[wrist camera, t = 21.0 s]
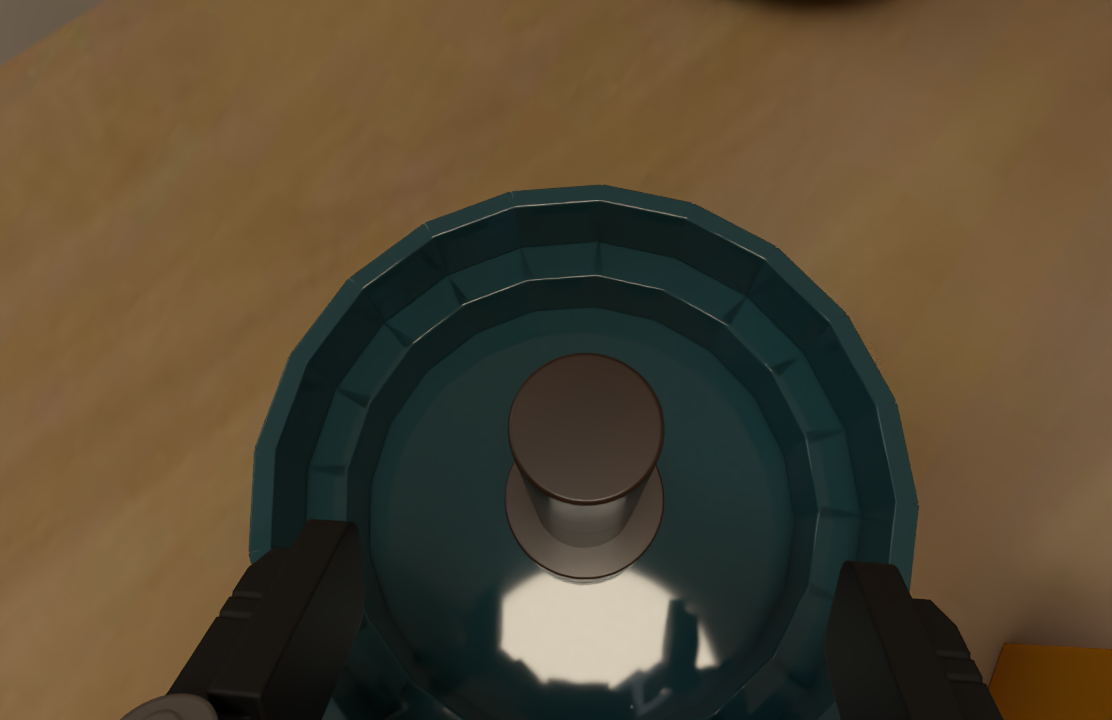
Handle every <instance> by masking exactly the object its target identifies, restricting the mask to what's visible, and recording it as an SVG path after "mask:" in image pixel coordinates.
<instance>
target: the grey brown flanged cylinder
mask: <svg viewBox="0 0 1112 720" xmlns="http://www.w3.org/2000/svg"><path fill="white" fill-rule="evenodd" d="M664 433H665V426H664V417H663V412H662V408H661V405H660V403H659V400H658V398H657V396H656V394H655V392H654V390H653V389H652V387H651V386H650V384H649V383H648V382H647V381H646V380H645V379H644V377H643V376H642V375H641V374H639V373H638V372H637V371H636V370H635V369H634V368H632V367H631V366H629V365H628V364H626V363H624V362H622V361H620V360H618V359H616V358H613V357H610V356H607V355H602V354H596V353H575V354H569V355H565V356H562V357H558V358H556V359H554V360H552V361H549V362H548V363H546V364H544V365H543V366H541V367H540V368H538V369H537V370H536V371H534V372H533V373H532V374H531V375H530V376H529V377H528V378H527V379H526V380H525V382H524V383H523V384H522V386H521V387H520V389H519V390H518V392H517V394H516V395H515V398H514V400H513V403H512V405H511V409H510V413H509V418H508V440H509V446H510V449H511V453H512V456H513V458H514V462H513V464H512V466H511V469H510V471H509V474H508V477H507V481H506V487H505V511H506V516H507V520H508V524H509V527H510V529H511V531H512V534H513V536H514V537H515V539H516V541H517V543H518V544H519V546H520V547H521V548H522V549H523V551H524V552H525V553H526V554H527V556H528V557H529V558H530V559H531V560H532V561H533V562H534V563H535V564H536V565H538V566H539V567H540V568H542V569H543V570H544V571H546V572H548V573H550V574H552V575H554V576H556V577H559V578H561V579H565V580H569V581H574V582H596V581H602V580H605V579H608V578H611V577H613V576H616V575H618V574H620V573H622V572H623V571H625V570H626V569H628V568H629V567H630V566H632V565H633V564H634V563H635V562H636V561H637V560H638V559H639V558H640V557H641V556H642V555H643V554H644V553H645V551H646V550H647V549H648V548H649V546H650V545H651V543H652V542H653V540H654V538H655V536H656V534H657V532H658V530H659V527H660V524H661V521H662V517H663V512H664V488H663V483H662V478H661V475H660V472H659V469H658V467H657V465H656V464H657V462H658V460H659V457H660V454H661V451H662V447H663V442H664Z"/></svg>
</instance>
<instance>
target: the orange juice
mask: <svg viewBox="0 0 1112 720" xmlns="http://www.w3.org/2000/svg"><path fill="white" fill-rule="evenodd" d="M988 690H989V692H990V693H991V695H992V697H993V699H994V701H995V703H996V705H997V707H998V709H999V711H1000V713H1001V715H1002V717H1003V719H1004V720H1112V649H1098V648H1080V647H1062V646H1044V645H1026V644H1008V643H1004V646H1003V649H1002V652H1001V655H1000V657H999V660H998V663H997V666H996V669H995V672H994V675H993V677H992V680H991V683H990V686H989V689H988Z"/></svg>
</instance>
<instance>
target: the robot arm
mask: <svg viewBox="0 0 1112 720" xmlns="http://www.w3.org/2000/svg"><path fill="white" fill-rule="evenodd" d="M364 603H365V589H364V579H363V570H362V561H361V552H360V543H359V533H358V528H357V525H356V524H355V523H354V522H348V521H334V520H321V519H309V520H308V521H307V522H306V523H305V525H304V526H303V528H302V530H301V531H300V533H299V535H298V536H297V538H296V540H295V541H294V543H293V545H292V547H291V548H278V547H274V548H272V549H271V550H270V551H269V552H267V553H266V554H265V555H263V556H262V557H261V558H260V559H258V560H257V561H256V562H255V563H253V564H252V565H251V566H249V567H248V569H247V570H246V572H245V573H244V575H243V576H242V578H241V579H240V581H239V583H238V584H237V586H236V587H235V589H234V590H233V594H232V597H229V598H228V600H227V601H226V603H225V604H224V606H223V607H222V609H221V611H220V615H219V617H216V618H215V620H214V621H213V623H212V625H211V626H210V628H209V629H208V631H207V632H206V634H205V635H204V637H203V639H202V640H201V642H200V643H199V645H198V646H197V648H196V649H195V651H194V652H193V654H192V656H191V657H190V659H189V660H188V662H187V663H186V665H185V666H184V668H183V670H182V671H181V673H180V674H179V676H178V677H177V679H176V680H175V682H174V684H173V685H172V687H171V688H170V690H169V691H168V693H167V694H166V695H165V696H161V697H158V698H155V699H152V700H150V701H148V702H145V703H143V704H141V705H140V706H138V707H136V708H135V709H133V710H132V711H130V712H129V713H128V714H126V715H125V716H124V717H123V718H122V719H120V720H322V718H323V716H324V713H325V711H326V708H327V706H328V704H329V701H330V699H331V696H332V694H333V691H334V689H335V687H336V684H337V682H338V679H339V677H340V674H341V672H342V670H343V667H344V665H345V662H346V660H347V658H348V655H349V653H350V650H351V648H352V645H353V643H354V641H355V638H356V636H357V633H358V631H359V628H360V625H361V621H362V617H363V611H364ZM824 649H825V662H826V668H827V672H828V676H829V679H830V683H831V686H832V690H833V694H834V697H835V701H836V704H837V708H838V711H839V715H840V718H841V720H1004V719H1003V717H1002V715H1001V713H1000V711H999V709H998V707H997V705H996V703H995V701H994V699H993V697H992V695H991V693H990V692H989V690H988V688H987V686H986V684H985V683H983V682H982V676H981V674H980V672H979V670H978V668H977V666H976V664H975V662H974V660H971V658H970V652H969V650H968V648H967V646H966V644H965V642H964V640H963V638H962V636H961V634H960V632H959V630H958V628H957V626H956V625H955V624H954V623H953V622H952V621H951V620H950V619H949V618H948V617H947V616H946V615H945V614H944V613H943V612H942V611H941V610H940V609H939V608H938V607H937V606H936V605H935V604H934V603H933V602H932V601H931V600H926V599H913V598H912V597H911V595H910V593H909V591H908V588H907V586H906V584H905V582H904V580H903V577H902V575H901V573H900V571H899V569H898V568H897V566H895V565H894V564H887V563H873V562H860V561H845V562H844V563H843V564H842V567H841V570H840V573H839V577H838V581H837V586H836V590H835V594H834V598H833V602H832V606H831V610H830V615H829V619H828V623H827V627H826V632H825V643H824Z"/></svg>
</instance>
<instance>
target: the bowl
mask: <svg viewBox="0 0 1112 720" xmlns="http://www.w3.org/2000/svg"><path fill="white" fill-rule="evenodd" d="M575 353H596V354H602V355H607V356H610V357H613V358H616V359H618V360H620V361H622V362H624V363H626V364H628V365H629V366H631V367H632V368H634V369H635V370H636V371H637V372H638V373H639V374H641V375H642V376H643V377H644V379H645V380H646V381H647V382H648V383H649V384H650V386H651V387H652V389H653V390H654V392H655V394H656V396H657V398H658V400H659V403H660V405H661V408H662V412H663V417H664V426H665V433H664V442H663V447H662V451H661V454H660V457H659V460H658V462H657V464H656V465H657V467H658V469H659V472H660V475H661V478H662V483H663V488H664V512H663V517H662V521H661V524H660V527H659V530H658V532H657V534H656V536H655V538H654V540H653V542H652V543H651V545H650V546H649V548H648V549H647V550H646V551H645V553H644V554H643V555H642V556H641V557H640V558H639V559H638V560H637V561H636V562H635V563H634V564H633V565H632V566H630V567H629V568H628V569H626V570H625V571H623V572H622V573H620V574H618V575H616V576H613V577H611V578H608V579H605V580H602V581H596V582H574V581H569V580H565V579H561V578H559V577H556V576H554V575H552V574H550V573H548V572H546V571H544V570H543V569H542V568H540V567H539V566H538V565H536V564H535V563H534V562H533V561H532V560H531V559H530V558H529V557H528V556H527V554H526V553H525V552H524V551H523V549H522V548H521V547H520V546H519V544H518V543H517V541H516V539H515V537H514V536H513V534H512V531H511V529H510V527H509V524H508V520H507V516H506V511H505V487H506V481H507V477H508V474H509V471H510V469H511V466H512V464H513V462H514V458H513V456H512V453H511V449H510V446H509V440H508V418H509V413H510V409H511V405H512V403H513V400H514V398H515V395H516V394H517V392H518V390H519V389H520V387H521V386H522V384H523V383H524V382H525V380H526V379H527V378H528V377H529V376H530V375H531V374H532V373H533V372H534V371H536V370H537V369H538V368H540V367H541V366H543V365H544V364H546V363H548V362H549V361H552V360H554V359H556V358H558V357H562V356H565V355H569V354H575ZM290 355H291V356H289V358H288V361H287V363H286V366H285V369H284V371H283V374H282V377H281V379H280V382H279V385H278V387H277V390H276V393H275V395H274V398H273V401H272V403H271V406H270V409H269V411H268V414H267V417H266V419H265V422H264V424H263V427H262V430H261V432H260V435H259V438H258V440H257V443H256V446H255V450H254V465H253V482H252V500H251V518H250V536H249V552H250V553H249V557H250V561H251V565H252V564H253V563H255V562H256V561H257V560H258V559H260V558H261V557H262V556H263V555H265V554H266V553H267V552H269V551H270V550H271V549H272V548H274V547H278V548H291V547H292V545H293V543H294V541H295V540H296V538H297V536H298V535H299V533H300V531H301V530H302V528H303V526H304V525H305V523H306V522H307V521H308V520H309V519H321V520H334V521H348V522H354V523H355V524H356V525H357V528H358V533H359V543H360V552H361V561H362V570H363V579H364V589H365V603H364V611H363V617H362V621H361V625H360V628H359V631H358V633H357V636H356V638H355V641H354V643H353V645H352V648H351V650H350V653H349V655H348V658H347V660H346V662H345V665H344V667H343V670H342V672H341V674H340V677H339V679H338V682H337V684H336V687H335V689H334V691H333V694H332V696H331V699H330V701H329V704H328V706H327V708H326V711H325V713H324V716H323V718H322V720H841V718H840V715H839V711H838V708H837V704H836V701H835V697H834V694H833V690H832V686H831V683H830V679H829V676H828V672H827V668H826V662H825V649H824V643H825V632H826V627H827V623H828V619H829V615H830V610H831V606H832V602H833V598H834V594H835V590H836V586H837V581H838V577H839V573H840V570H841V567H842V564H843V563H844V562H845V561H860V562H873V563H887V564H894V565H895V566H897V568H898V569H899V571H900V573H901V575H902V577H903V580H904V582H905V584H906V586H907V588H908V591H909V592H910V583H911V574H912V564H913V555H914V546H915V537H916V527H917V518H918V509H919V506H918V505H917V504H918V500H917V495H916V490H915V486H914V481H913V476H912V472H911V467H910V462H909V457H908V453H907V448H906V443H905V439H904V434H903V429H902V425H901V420H900V415H899V411H898V406H897V403H895V402H896V400H895V398H894V396H893V395H892V393H891V391H890V389H889V387H888V386H887V384H886V382H885V380H884V379H883V377H882V375H881V373H880V371H879V370H878V368H877V366H876V364H875V363H874V361H873V359H872V357H871V356H870V354H869V352H868V350H867V348H866V347H865V345H864V343H863V341H862V340H861V338H860V336H859V334H858V333H857V331H856V329H855V327H854V325H853V324H852V322H851V320H850V318H849V317H848V315H846V313H845V312H844V311H843V310H842V309H841V308H840V307H839V306H838V305H837V304H836V303H835V302H834V301H833V300H832V299H831V298H830V297H829V296H828V295H827V294H826V293H825V292H824V291H823V290H821V289H820V288H819V287H818V286H817V285H816V284H815V283H814V282H813V281H812V280H811V279H810V278H809V277H808V276H807V275H806V274H805V273H804V272H803V271H802V270H801V269H800V268H799V267H798V266H796V265H795V264H794V263H793V262H792V261H791V260H790V259H789V258H788V257H787V256H786V255H785V254H784V253H783V252H782V251H781V250H780V249H779V248H776V246H775V245H773V244H771V243H769V242H767V241H765V240H763V239H761V238H759V237H757V236H755V235H753V234H752V233H750V232H748V231H746V230H744V229H742V228H740V227H738V226H736V225H734V224H732V223H730V222H728V221H727V220H725V219H723V218H721V217H719V216H717V215H715V214H713V213H711V212H709V211H707V210H705V209H704V208H702V207H700V206H698V205H696V204H693V205H692V203H691V202H686V201H681V200H676V199H671V198H666V197H662V196H657V195H652V194H647V193H642V192H637V191H632V190H627V189H622V188H617V187H613V186H608V185H603V186H602V185H589V186H576V187H562V188H549V189H536V190H522V191H512V192H511V193H510V192H507V193H505V194H502V195H499V196H496V197H494V198H491V199H488V200H486V201H483V202H480V203H477V204H475V205H472V206H469V207H467V208H464V209H461V210H458V211H456V212H453V213H450V214H447V215H445V216H442V217H439V218H437V219H434V220H431V221H428V222H426V223H425V225H424V224H422V225H421V226H420V227H418V228H417V229H415V230H414V231H413V232H411V233H410V234H409V235H407V236H406V237H404V238H403V239H402V240H400V241H399V242H398V243H396V244H395V245H394V246H392V247H391V248H389V249H388V250H387V251H385V252H384V253H383V254H381V255H380V256H379V257H377V258H376V259H374V260H373V261H372V262H370V263H369V264H368V265H366V266H365V267H364V268H362V269H361V270H359V271H358V272H357V273H355V274H354V275H353V276H351V277H350V280H349V279H348V280H347V281H346V282H345V283H344V285H343V286H342V287H341V289H340V290H339V291H338V292H337V294H336V295H335V296H334V298H333V299H332V300H331V302H330V303H329V304H328V306H327V307H326V308H325V309H324V311H323V312H322V313H321V315H320V316H319V317H318V319H317V320H316V321H315V322H314V324H313V325H312V326H311V328H310V329H309V330H308V332H307V333H306V334H305V336H304V337H303V338H302V339H301V341H300V342H299V343H298V345H297V346H296V347H295V349H294V350H293V351H292V353H291V354H290Z"/></svg>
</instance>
